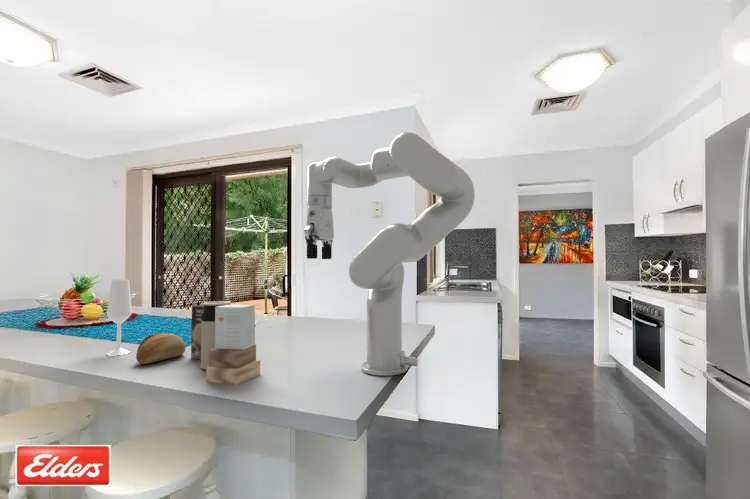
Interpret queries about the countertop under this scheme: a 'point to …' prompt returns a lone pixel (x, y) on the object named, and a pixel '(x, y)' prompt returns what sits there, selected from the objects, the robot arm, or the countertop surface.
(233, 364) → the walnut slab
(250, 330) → the small box
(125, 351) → the champagne flute
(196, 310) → the coffee box
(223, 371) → the oak slab
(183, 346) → the bread roll
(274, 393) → the countertop surface
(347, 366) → the countertop surface
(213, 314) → the travel mug
